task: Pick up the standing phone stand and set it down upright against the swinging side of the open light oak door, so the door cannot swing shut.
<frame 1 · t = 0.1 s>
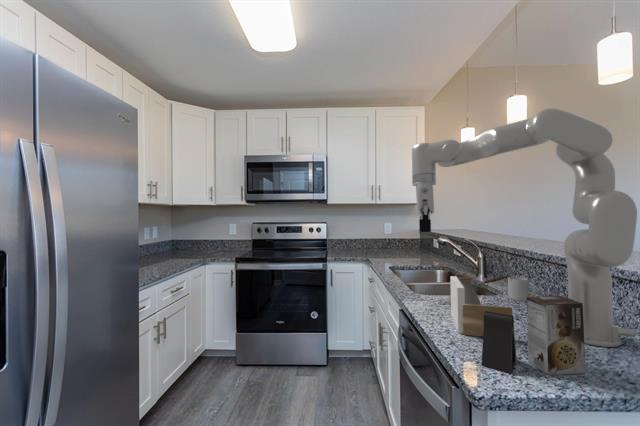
hand: (424, 231, 100), 31 cm above the worktop, tool pointing down, fingers open, 9 cm apart
door: (487, 321, 87), point 5 cm above the worktop, hinge at 90.0°
cup: (522, 300, 126), on the worktop
coffee box: (555, 368, 70), on the worktop
wall frame: (457, 323, 99), on the worktop
coffee pot: (478, 313, 110), on the worktop
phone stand: (499, 363, 73), on the worktop
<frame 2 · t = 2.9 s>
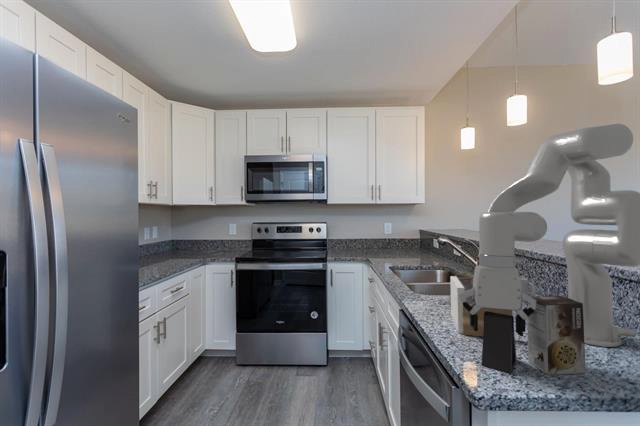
hand: (496, 331, 73), 8 cm above the worktop, tool pointing down, fingers open, 9 cm apart
nothing on the worktop moved.
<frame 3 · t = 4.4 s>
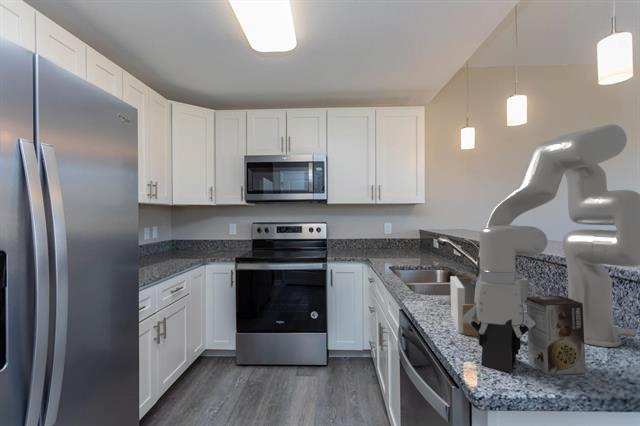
hand: (499, 349, 73), 3 cm above the worktop, tool pointing down, fingers closed on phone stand, 6 cm apart
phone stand: (499, 363, 73), on the worktop, touching gripper
everything else where it was.
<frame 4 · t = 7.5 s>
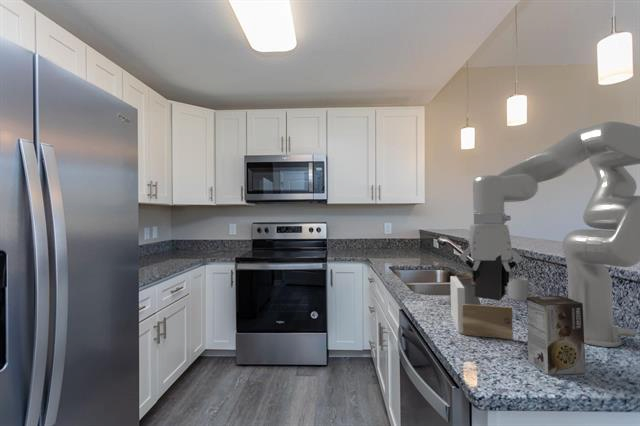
hand: (490, 284, 82), 17 cm above the worktop, tool pointing down, fingers closed on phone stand, 6 cm apart
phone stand: (490, 296, 82), point 14 cm above the worktop, touching gripper
everything else where it was.
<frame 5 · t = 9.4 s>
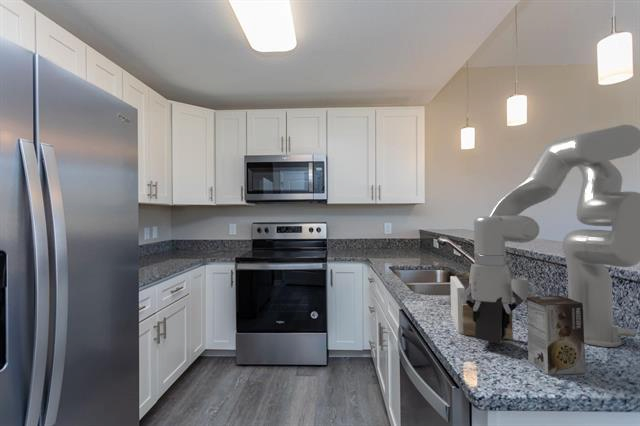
hand: (490, 324, 82), 6 cm above the worktop, tool pointing down, fingers closed on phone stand, 6 cm apart
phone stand: (490, 336, 82), point 2 cm above the worktop, touching gripper
everything else where it was.
when the fingers open (5 cm above the worktop, at t = 10.7 s): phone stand stays where it is, on the worktop.
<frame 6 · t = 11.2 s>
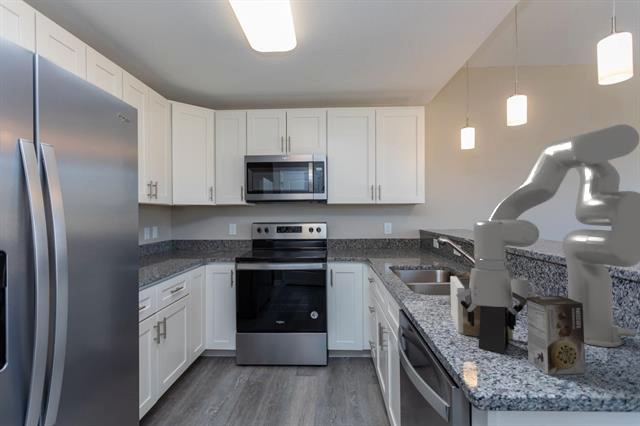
hand: (491, 326, 82), 5 cm above the worktop, tool pointing down, fingers open, 9 cm apart
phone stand: (494, 346, 82), on the worktop
everything else where it was.
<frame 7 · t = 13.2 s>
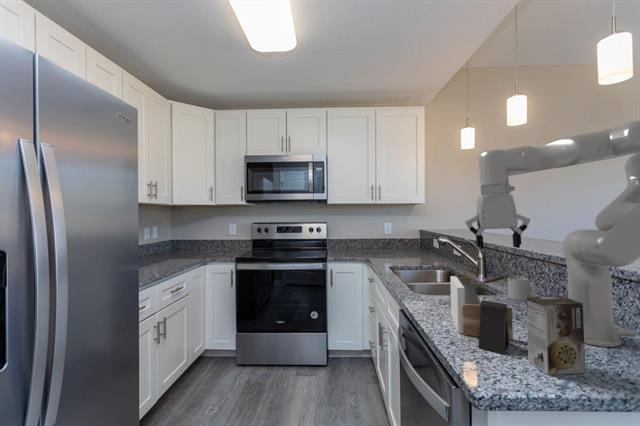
hand: (498, 247, 89), 26 cm above the worktop, tool pointing down, fingers open, 9 cm apart
nothing on the worktop moved.
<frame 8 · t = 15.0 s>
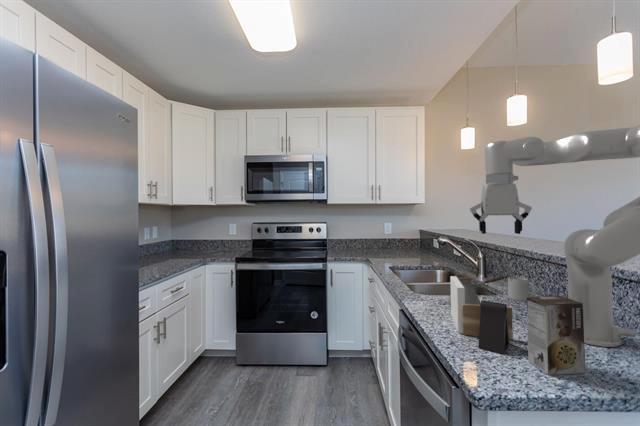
hand: (500, 233, 95), 30 cm above the worktop, tool pointing down, fingers open, 9 cm apart
nothing on the worktop moved.
at the end: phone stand 0.7 cm from the target spot, on the worktop; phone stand tilted 0°; door at +90° (first picture: +90°) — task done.
